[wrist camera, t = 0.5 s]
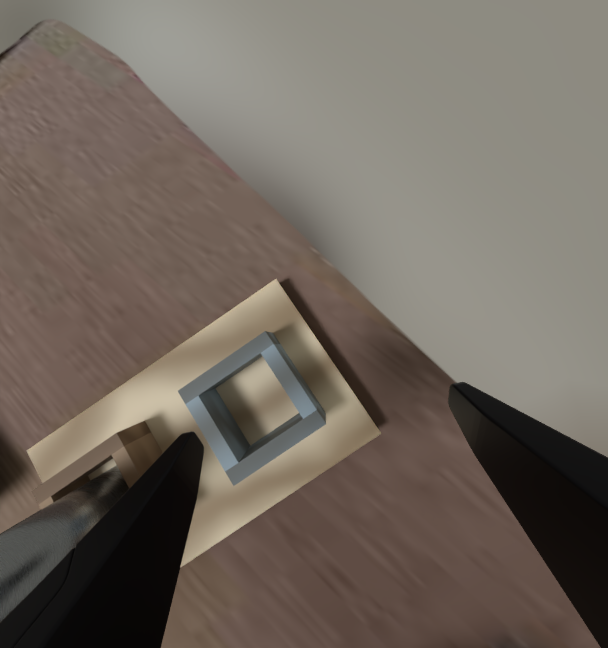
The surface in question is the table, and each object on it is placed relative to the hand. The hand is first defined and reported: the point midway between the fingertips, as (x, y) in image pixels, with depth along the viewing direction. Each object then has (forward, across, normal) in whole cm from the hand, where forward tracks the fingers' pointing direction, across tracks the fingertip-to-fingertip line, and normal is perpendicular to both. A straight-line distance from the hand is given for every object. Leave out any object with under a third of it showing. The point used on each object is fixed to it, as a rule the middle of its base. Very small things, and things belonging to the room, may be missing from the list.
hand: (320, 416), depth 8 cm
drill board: (+10, +12, +11) cm, 19 cm away
